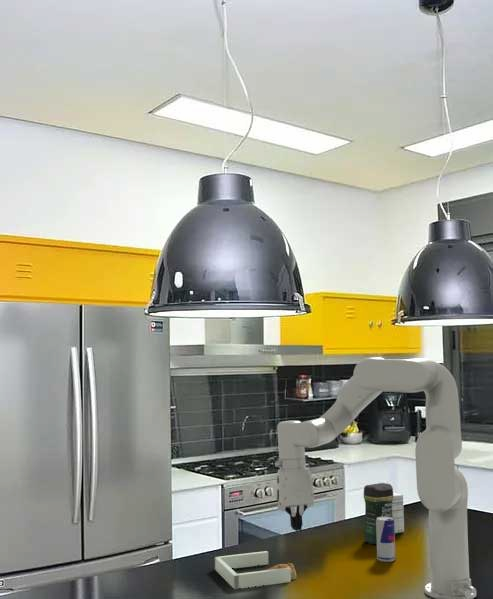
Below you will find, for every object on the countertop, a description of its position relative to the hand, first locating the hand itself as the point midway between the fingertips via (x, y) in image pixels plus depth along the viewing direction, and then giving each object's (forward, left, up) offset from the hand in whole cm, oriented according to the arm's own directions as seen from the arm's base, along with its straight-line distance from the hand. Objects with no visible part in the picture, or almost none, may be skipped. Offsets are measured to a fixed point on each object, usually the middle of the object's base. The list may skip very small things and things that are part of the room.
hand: (296, 529), depth 201 cm
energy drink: (0, -28, -12) cm, 31 cm away
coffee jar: (+18, -36, -12) cm, 42 cm away
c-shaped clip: (+1, +14, -11) cm, 18 cm away
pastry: (-4, +7, -12) cm, 14 cm away
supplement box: (+29, -46, -12) cm, 56 cm away
